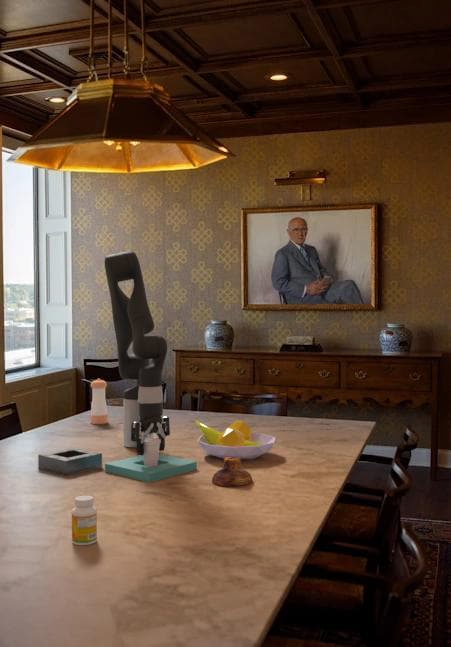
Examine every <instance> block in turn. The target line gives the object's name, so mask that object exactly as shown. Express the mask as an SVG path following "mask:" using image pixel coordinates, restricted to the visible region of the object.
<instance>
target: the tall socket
mask: <svg viewBox="0 0 451 647" xmlns="http://www.w3.org/2000/svg"><path fill="white" fill-rule="evenodd" d="M37 457H38V458H37V459H38V460H37V464H38V466H37V467H38V470H42V471H46V472H50V473H53V474H57V475H60V474H61V475H62V476H65V477H66V476H72V475H75V474H80V473H83V472H87V471H88V472H89V471H93V470H97V468H98V469H101V468H103V453H102V452H97V451H92V450H89V449H84V448H80V447H70V448H65V449H60V450H54V451H49V452H45V453H44V452H43V453H39V454H38V456H37ZM71 474H72V475H71Z"/></svg>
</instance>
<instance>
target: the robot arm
mask: <svg viewBox="0 0 451 647" xmlns="http://www.w3.org/2000/svg"><path fill="white" fill-rule="evenodd" d="M104 258H105V259H104V270H105V275H106V280H107V284H108V290H109V297H110V303H111V312H112V321H113V327H114V332H115V338H116V347H117V362H118V364H117V365H118V372H119V376H120V378H121V379H123V380H138V383H137V384H136V385H134V386H133V387H130V388H127V389H125V390H123V393H122V395H123V402H122V405H123V408H122V409H123V412H122V414H123V447H126V448H136V453H137V456H140V455H141V456H142V455H144V443H143V442H144V440H145V438H151V434H152V433H153V434H155V435H156V436H157V438H159V439H161V443H160V447H159V452H160V451H161V452H163V451H164V450H165V447H166V437H167V436H168V437H169V436H170V435H171V430H170V429H171V428H170V426H171V425H170V417H168V416H163V415H164V413H163V412H164V406H163V405H164V394H163V384H162V383H163V376H162V374H163V369H164V365H165V360H166V358H167V353H168V343H167V340H166V338H165V337H163V336H162V335H148V334H150V333H152V332H153V330H154V328H155V322H154V319H153V316H152V312H151V310H150V307H149V303H148V300H147V293H146V288H145V281H144V277H143V274H142V269H141V265H140V261H139V258H138V256H137V254H136V253H135V252H134V251H132V250H130V251H124V252H118V253H114V254H113V253H112V254H108V255H106V256H105V257H104ZM129 280H130V281H131V280H133V288H132V293H131V295H130V298H129V296H128V295H126V294H125V292H124V291H123V290H122V288H121V287H120V285H119V283H121V282H125V281H126V282H127V281H129ZM131 344H132V351H133V353H130V354H129V353H128V351H129V348H130V346H131ZM150 360H151V361H150Z"/></svg>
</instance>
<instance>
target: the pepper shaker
mask: <svg viewBox="0 0 451 647" xmlns="http://www.w3.org/2000/svg"><path fill="white" fill-rule="evenodd" d="M107 386H108V384H107V382H106V381H105V380H104V379H100V378H97V379H96V380H93V381H91V383H90V388H91V390H92V395H91V396H92V399H91V400H92V401H91V404H90V405H91V406H90V409H91V410H90V411H91V413H90V424H91V423H92V425H106V424H108V422H109V419H108V416H109V415H108V413H107V412H108V410H107V409H108V407H107V406H108V404H107V400H106V388H107Z"/></svg>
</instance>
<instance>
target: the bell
mask: <svg viewBox="0 0 451 647" xmlns="http://www.w3.org/2000/svg"><path fill="white" fill-rule="evenodd" d="M211 482H212V484H213V485H215V486H218V487H225V488H241V487H242V488H243V487H246V486H250V485H251V484H252V483H253V477H252V474H251V473H250V472H249V471H248V470H246V469H244V468H243V467H242V460H240V459H239V458H237V459H232V458H231V457H226V458H225V459H223V467H222V468H221V469H219V470H218V471H216V472H215V473H214V474H213V476H212V478H211Z"/></svg>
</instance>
